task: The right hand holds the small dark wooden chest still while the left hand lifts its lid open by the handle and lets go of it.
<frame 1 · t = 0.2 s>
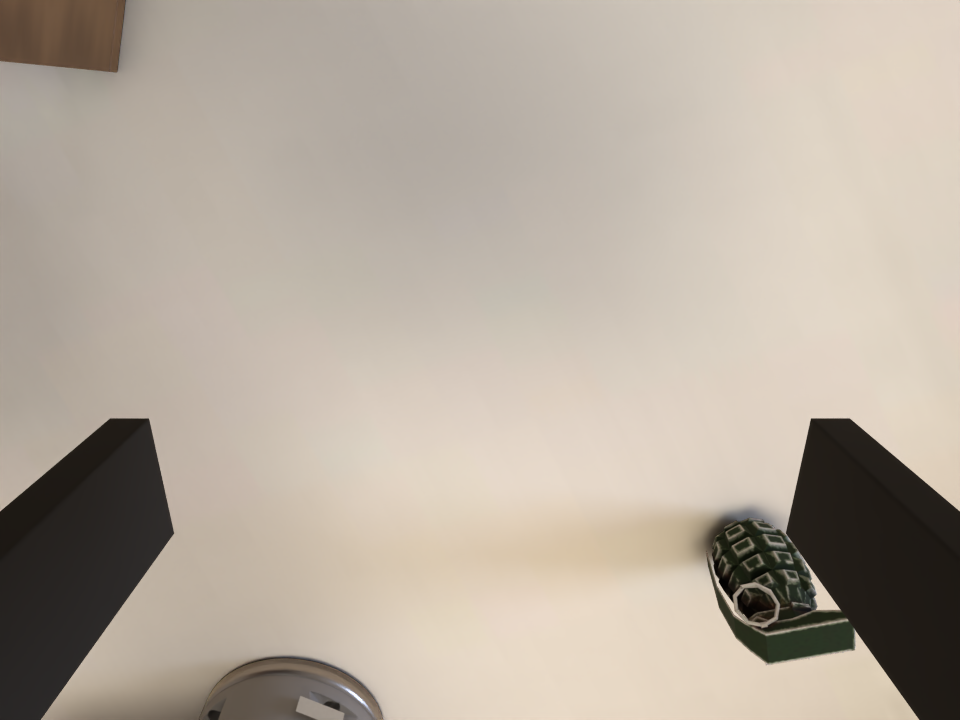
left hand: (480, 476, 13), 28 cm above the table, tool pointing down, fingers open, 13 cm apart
grenade: (736, 536, 47), on the table
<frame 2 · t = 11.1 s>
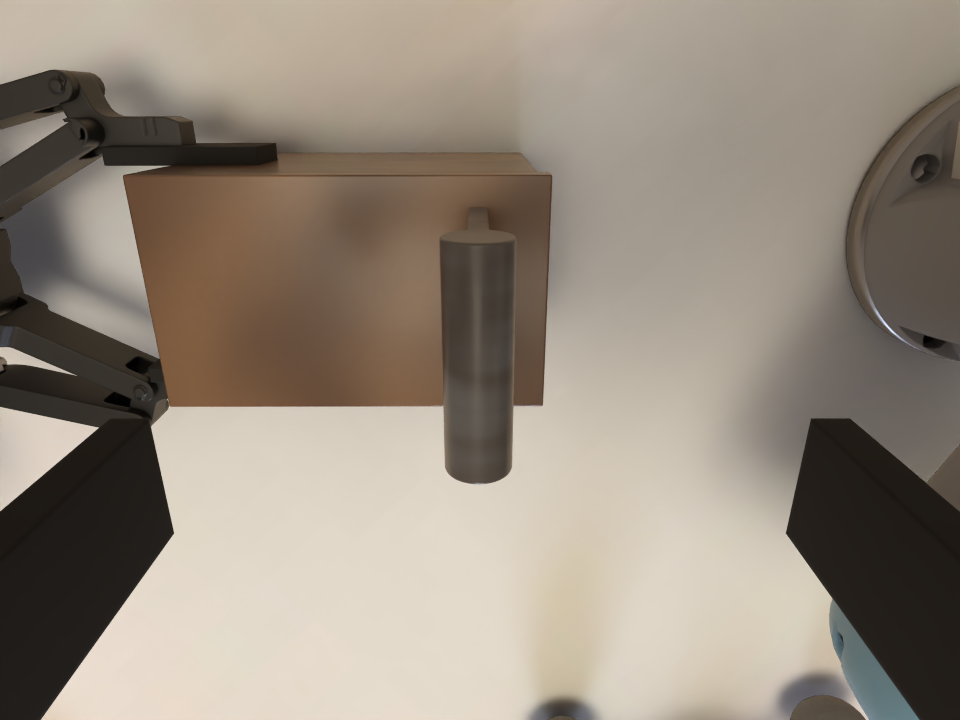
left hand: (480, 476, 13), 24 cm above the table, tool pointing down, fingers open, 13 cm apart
right hand: (280, 265, 30), fingers closed on chest, 9 cm apart
lid: (329, 325, 22), point 15 cm above the table, hinge at 0.0°
chest: (383, 240, 35), on the table, touching right hand
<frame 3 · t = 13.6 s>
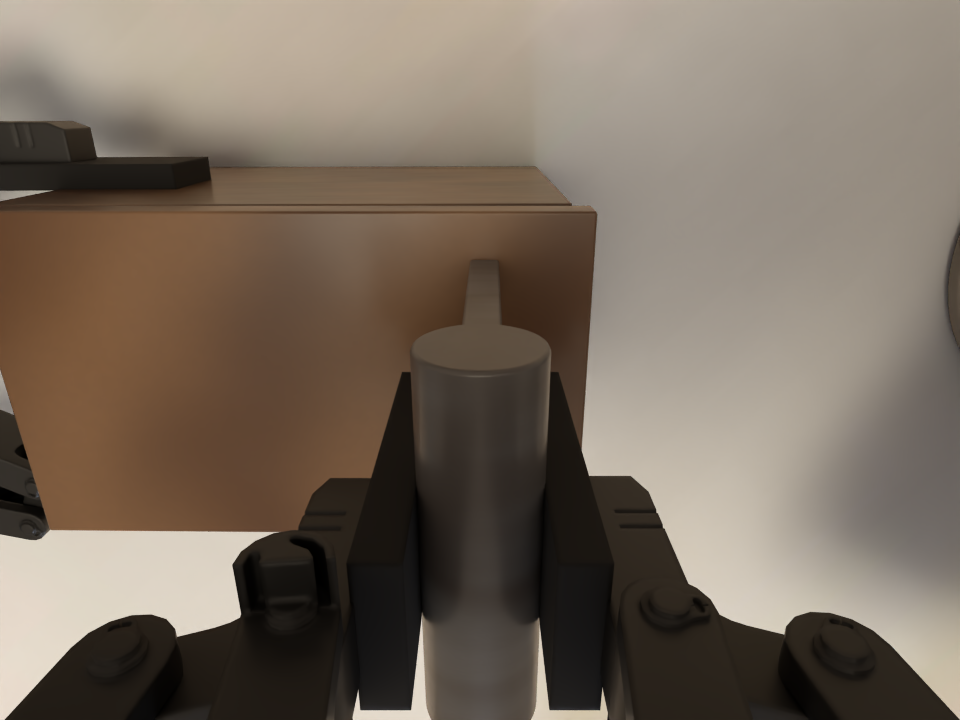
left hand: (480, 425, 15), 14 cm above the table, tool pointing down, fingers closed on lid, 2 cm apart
lid: (250, 450, 14), point 15 cm above the table, hinge at 1.2°, touching left hand
chest: (360, 277, 28), on the table, touching right hand
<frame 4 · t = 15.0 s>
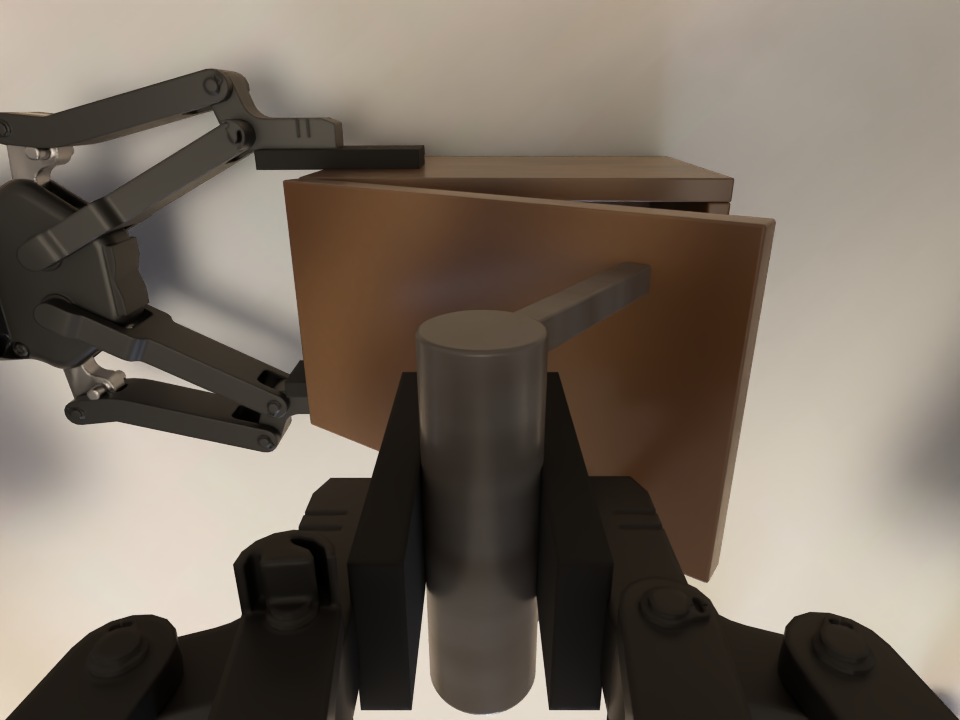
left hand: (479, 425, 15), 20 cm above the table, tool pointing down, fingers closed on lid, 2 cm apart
right hand: (426, 274, 28), fingers closed on chest, 9 cm apart
lid: (393, 392, 17), point 19 cm above the table, hinge at 32.5°, touching left hand
chest: (512, 248, 33), on the table, touching right hand
when the right hand's fingers open (6 cm above the table, at t = 20.5 s): chest stays where it is, on the table.
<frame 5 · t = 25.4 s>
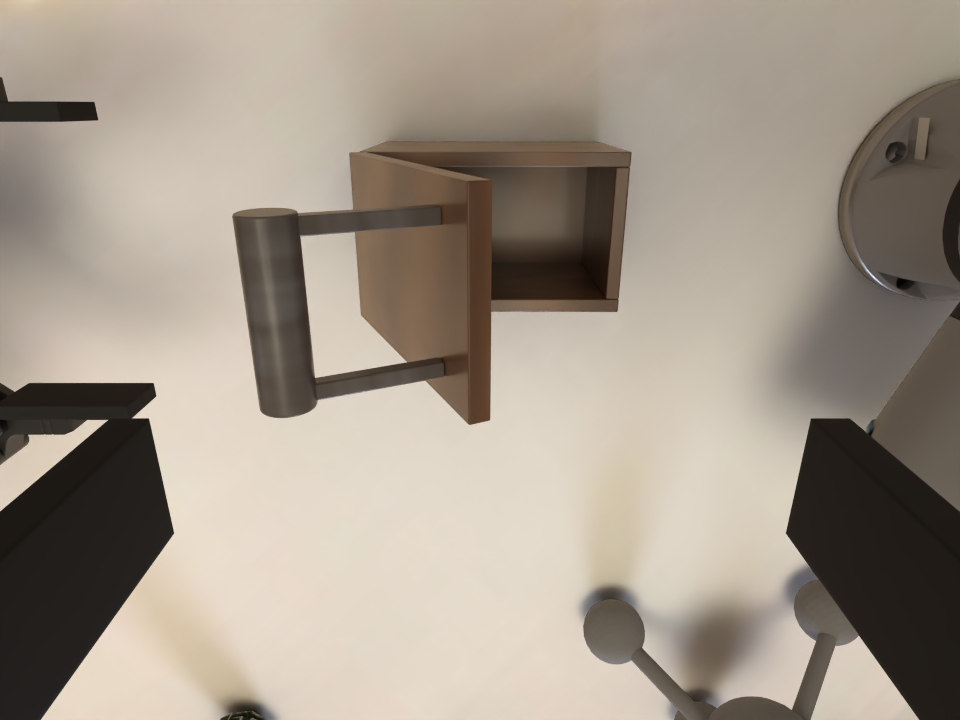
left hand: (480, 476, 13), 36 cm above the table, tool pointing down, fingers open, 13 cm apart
lid: (331, 274, 28), point 20 cm above the table, hinge at 64.5°
grenade: (250, 716, 66), on the table
chest: (491, 208, 47), on the table
molecular model: (686, 628, 62), on the table
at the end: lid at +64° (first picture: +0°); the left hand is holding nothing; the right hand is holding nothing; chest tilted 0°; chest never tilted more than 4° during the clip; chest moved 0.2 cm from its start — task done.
